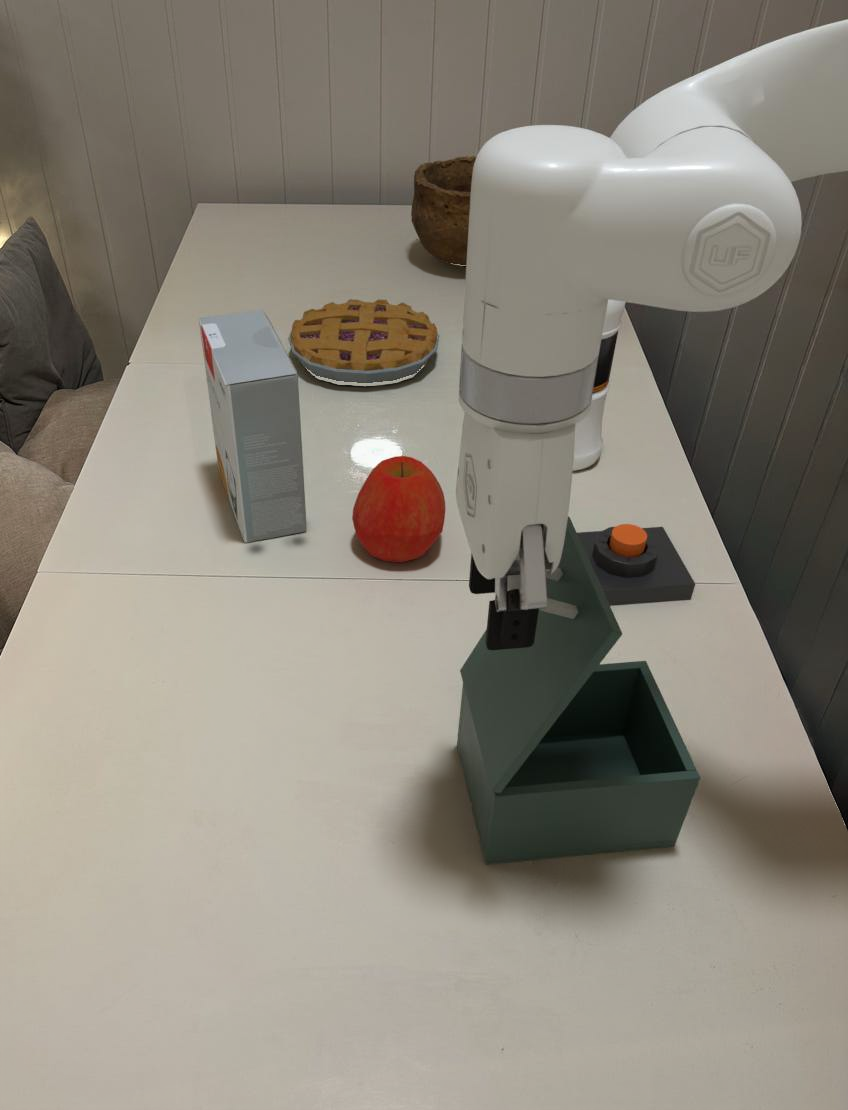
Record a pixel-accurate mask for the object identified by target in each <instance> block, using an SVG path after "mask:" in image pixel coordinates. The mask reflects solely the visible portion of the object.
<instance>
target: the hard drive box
mask: <svg viewBox="0 0 848 1110" xmlns="http://www.w3.org/2000/svg"><path fill="white" fill-rule="evenodd" d="M197 321H198V325H199V332H200V340H201V347H202V353H203V361H204V368H205V369H204V370H205V377H206V383H207V391H208V399H209V400H208V401H209V408H210V414H211V422H212V423H211V424H212V432H213V438H214V439H213V440H214V445H215V452H216V459H217V467H218V472H219V475H220V478H221V480H222V483H223V484H222V485H223V486H224V490H225V493H226V496H227V498H228V501H229V504H230V506H231V509H232V511H233V515H234V518H235V521H236V523H237V526H238V529H239V532H240V534H241V537H242V540H243V543H251V542H257V541H261V540H268V539H273V538H278V537H283V536H289V535H294V534H299V533H304V532H305V533H306V531H307V510H306V493H305V476H304V474H305V473H304V460H303V459H304V457H303V456H304V455H303V442H302V423H301V406H300V389H299V374H298V371H297V369H296V367H295V365H294V363H293V361H292V359H291V358H290V356H289V353H288V352H287V350H286V348H285V347H284V345H283V342H282V341H281V339H280V337H279V335H278V334H277V332H276V331H277V330H276V329H275V327H274V325H273V324H272V321H271V320H270V318H269V316H268V315H267V313H266V312H265V310H264V309H254V310H246V311H238V312H231V313H224V314H223V313H222V314H216V315H209V316H202V317H199V318H197Z"/></svg>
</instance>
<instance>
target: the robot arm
mask: <svg viewBox="0 0 848 1110" xmlns="http://www.w3.org/2000/svg"><path fill="white" fill-rule="evenodd" d="M475 157H476V160H475V163H474V167H473V174H472V183H471V197H470V213H469V230H468V247H467V264H466V267H465V282H464V299H463V300H464V301H463V318H462V335H461V350H460V352H461V353H460V366H459V383H458V403H459V405H460V407H461V408H462V411H464V413H463V421H462V429H461V438H460V446H459V454H458V455H459V456H458V465H457V474H456V483H455V484H456V485H455V499H456V505H457V509H458V513H459V517H460V520H461V524H462V526H463V530H464V533H465V537H466V539H467V543H468V547H469V549H470V552H471V553H470V567H469V577H468V588H469V592H470V593H471V594H474V595H482V594H494V599H493V600H489V601H488V612H487V622H486V629H487V630H486V629H485V631H486V641H485V642H486V646H487V649H488V650H504V649H515V648H527V647H531V646H532V645H533V644H534V640H535V633H536V626H537V619H538V613H539V609H541V608H546V607H547V590H546V575H545V571H546V572H547V573H548V574H552V573H553V572H554V571H555V570H556V569H557V567H558V565H559V562H560V559H561V555H562V550H563V546H564V540H565V534H566V527H567V520H568V516H569V511H570V503H571V493H572V482H573V472H574V471H573V461H574V443H575V424H576V423H578V422H580V421H581V420H582V419H583V418H584V417H585V416H586V415H587V414H588V412H589V410H590V406H591V400H592V393H593V387H594V381H595V375H596V369H597V363H598V357H599V350H600V344H601V339H602V333H603V327H604V321H605V315H606V309H607V303H608V299H610V300H616V301H623V302H626V303H630V304H636V305H642V306H648V307H654V308H660V309H664V310H665V309H666V310H671V311H679V312H691V313H711V312H719V311H724V310H728V309H733V308H736V307H739V306H741V305H744V304H746V303H749V302H751V301H752V300H755V299H756V298H757V297H760V296H761V295H763V294H764V293H765V292H766V291H767V290H769V289H771V287H772V286H773V285H775V284H776V283H777V282H778V281H779V280H780V279H781V278H782V276H783V275H784V273H786V271H787V270H788V268H789V267H790V266H791V263H792V261H793V259H794V257H795V255H796V252H797V249H798V246H799V244H800V239H801V235H802V226H803V225H802V224H803V220H802V218H803V217H802V209H801V204H800V200H799V197H798V195H797V192H796V189H795V188H794V186H793V183H792V182H796V181H800V180H803V179H808V178H812V177H816V176H817V177H818V176H822V175H828V174H834V173H842V172H848V19H844V20H843V19H842V20H839V21H835V22H832V23H829V24H828V23H827V24H824V25H821V26H817V27H812V28H810V29H809V28H808V29H807V30H803V31H799V32H797V33H794V34H789V35H787V36H784V37H782V38H779V39H775V40H774V41H771V42H767V43H764V44H763V45H761V46H758V47H756V48H754V49H753V48H752V49H751V50H748V51H746V52H744V53H741V54H739V55H737V56H734V57H732V58H730V59H727V60H726V61H724V62H721V63H719V64H717V65H715V66H712V67H710V68H708V69H705V70H704V71H701V72H700V73H696V74H694V75H692V76H690V77H688V78H685V79H683V80H681V81H679V82H676V83H674V84H673V85H670V86H668V87H667V88H664V89H663V90H661V91H660V92H657V93H656V94H655V95H653V96H650V97H649V98H648V99H646V100H645V101H643V103H641V104H640V105H638V106H637V107H636V108H635V109H633V110H632V111H630V113H628V115H627V116H626V117H625V118H624V119H623V120H622V121H621V122H620V123H619V124H618V125H617V127H616V128H615V130H614V131H613V133H612V134H611V135H610V137H609V136H606V135H605V134H602V133H599V132H597V131H594V130H591V129H587V128H583V127H577V126H571V125H561V124H536V125H526V126H525V125H524V126H520V127H515V128H511V129H508V130H505V131H502V132H499V133H497V134H496V135H494V136H493V137H491V138H490V139H488V140H486V142H485V143H484V144H483V146H482V147H480V150H479V151H478V153H477V155H476V156H475ZM518 555H519V559H517V560H515V559H516V557H517V556H518ZM510 575H521V588H520V589H512V590H509V591H507V582H508V576H510Z"/></svg>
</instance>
